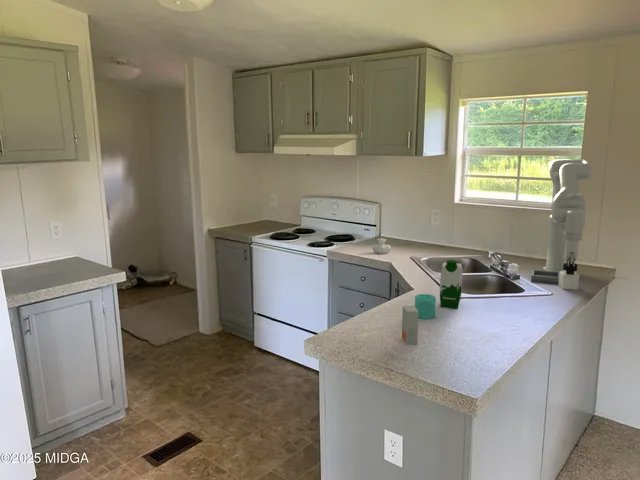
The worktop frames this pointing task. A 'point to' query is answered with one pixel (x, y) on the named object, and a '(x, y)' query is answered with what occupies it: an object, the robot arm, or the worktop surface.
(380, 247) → the white lobed vase
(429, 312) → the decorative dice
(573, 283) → the medicine bottle
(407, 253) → the worktop surface
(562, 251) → the robot arm
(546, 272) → the tray
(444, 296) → the milk carton
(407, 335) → the skincare box
